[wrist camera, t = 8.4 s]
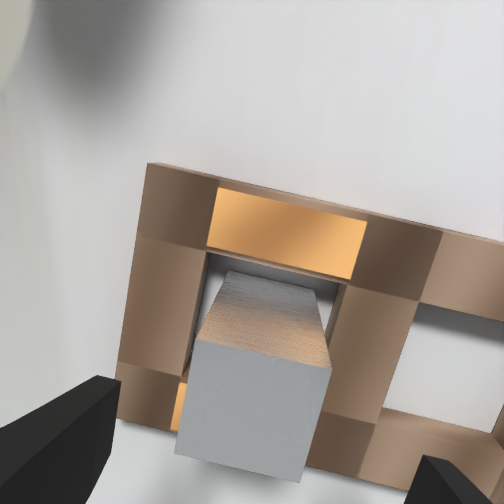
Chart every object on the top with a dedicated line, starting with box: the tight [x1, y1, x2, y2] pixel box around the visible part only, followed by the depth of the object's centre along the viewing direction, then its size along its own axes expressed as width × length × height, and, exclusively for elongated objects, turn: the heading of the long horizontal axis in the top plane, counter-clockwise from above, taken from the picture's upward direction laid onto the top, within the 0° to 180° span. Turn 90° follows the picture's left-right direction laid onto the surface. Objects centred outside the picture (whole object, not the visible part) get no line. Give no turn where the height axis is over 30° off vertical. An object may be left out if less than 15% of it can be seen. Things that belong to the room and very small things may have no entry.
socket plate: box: [115, 163, 504, 504], centre depth 17 cm, size 21×12×2 cm, turn 77°
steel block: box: [174, 271, 332, 483], centre depth 15 cm, size 4×4×7 cm
